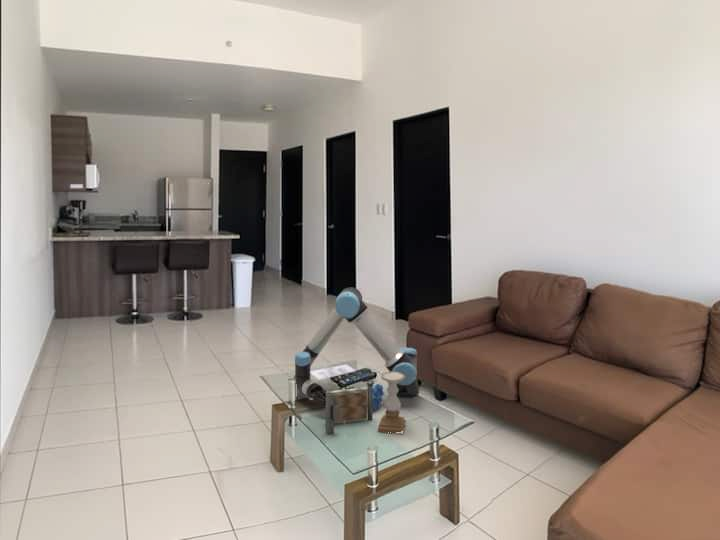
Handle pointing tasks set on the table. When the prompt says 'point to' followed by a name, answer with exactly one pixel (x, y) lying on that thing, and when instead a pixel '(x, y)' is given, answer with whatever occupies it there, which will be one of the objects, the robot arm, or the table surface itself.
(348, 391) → the gate
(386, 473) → the table surface
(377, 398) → the grapes
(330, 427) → the post
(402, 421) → the candle holder
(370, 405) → the hinge post
